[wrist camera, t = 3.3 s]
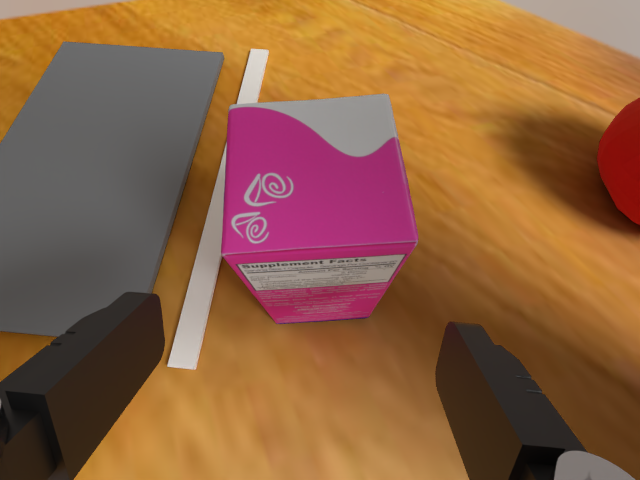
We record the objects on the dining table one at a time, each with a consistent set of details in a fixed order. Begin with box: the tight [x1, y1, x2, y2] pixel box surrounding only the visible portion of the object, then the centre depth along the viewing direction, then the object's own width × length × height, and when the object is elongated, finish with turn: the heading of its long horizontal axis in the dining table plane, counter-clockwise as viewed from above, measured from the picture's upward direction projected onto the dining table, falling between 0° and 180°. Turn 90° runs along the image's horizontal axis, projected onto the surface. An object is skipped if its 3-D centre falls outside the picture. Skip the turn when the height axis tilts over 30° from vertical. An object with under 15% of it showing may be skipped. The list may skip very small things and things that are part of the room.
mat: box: [0, 42, 224, 337], centre depth 24 cm, size 14×24×1 cm, turn 175°
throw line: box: [167, 49, 269, 370], centre depth 23 cm, size 2×26×1 cm, turn 175°
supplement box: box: [221, 94, 418, 324], centre depth 15 cm, size 6×6×12 cm
